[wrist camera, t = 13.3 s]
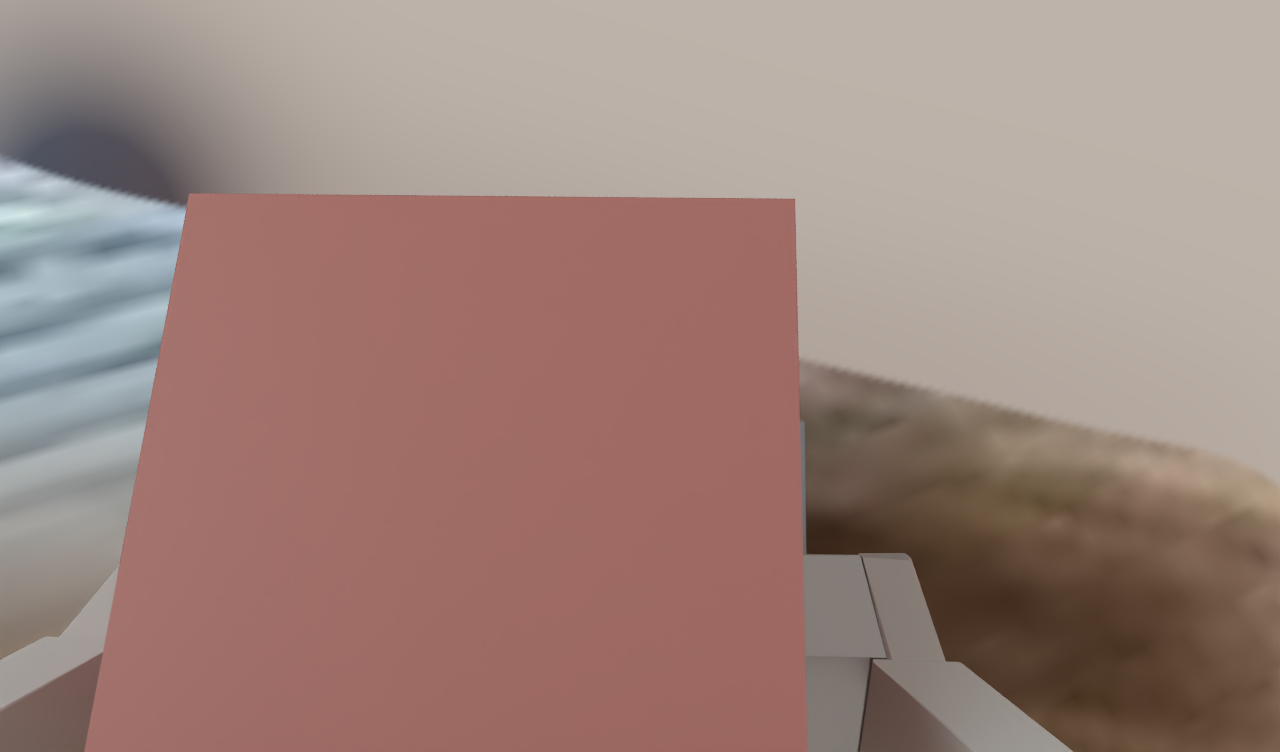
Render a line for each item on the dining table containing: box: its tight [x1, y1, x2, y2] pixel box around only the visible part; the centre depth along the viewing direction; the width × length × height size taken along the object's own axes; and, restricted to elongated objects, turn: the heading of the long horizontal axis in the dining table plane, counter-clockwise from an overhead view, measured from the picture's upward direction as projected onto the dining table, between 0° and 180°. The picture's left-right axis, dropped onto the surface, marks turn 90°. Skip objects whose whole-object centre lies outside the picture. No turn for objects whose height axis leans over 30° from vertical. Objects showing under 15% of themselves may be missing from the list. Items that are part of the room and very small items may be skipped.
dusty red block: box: [84, 193, 808, 752], centre depth 11 cm, size 5×5×8 cm
